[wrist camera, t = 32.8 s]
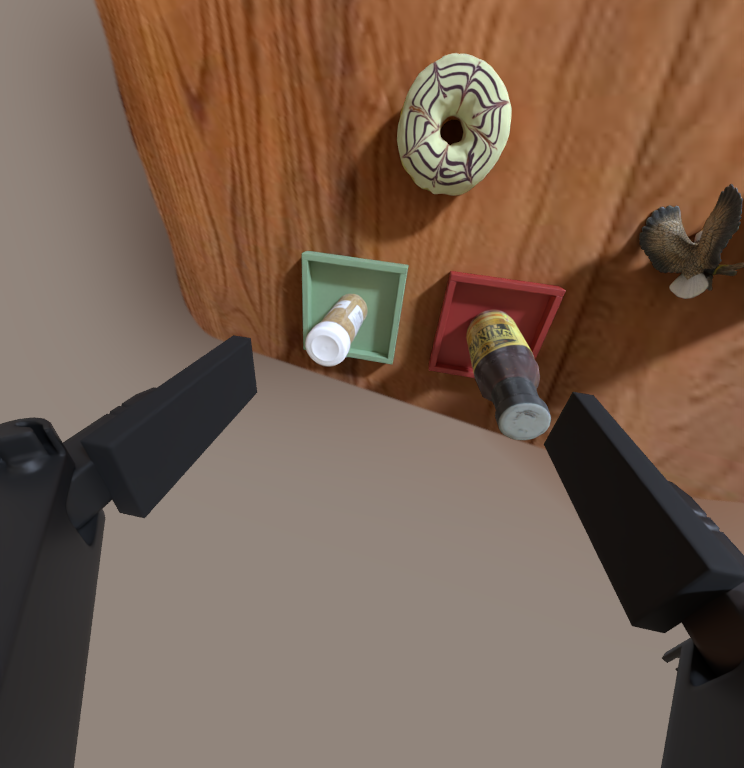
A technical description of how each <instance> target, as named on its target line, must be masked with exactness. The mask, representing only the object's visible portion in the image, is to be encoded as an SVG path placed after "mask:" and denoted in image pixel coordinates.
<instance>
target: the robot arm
mask: <svg viewBox="0 0 744 768" xmlns="http://www.w3.org/2000/svg"><path fill="white" fill-rule="evenodd" d="M256 393H257V387H256V379H255V370H254V362H253V354H252V345H251V338H246V337H240V336H234V335H233V336H232V337H230V338H229V339H228V340H226V341H225V342H223V343H222V344H220V345H219V346H217V347H216V348H215V349H213V350H211V351H210V352H209V353H207V354H206V355H204V356H203V357H201V358H200V359H198V360H197V361H195V362H194V363H193V364H191V365H190V366H188V367H187V368H185V369H184V370H182V371H181V372H179V373H178V374H176V375H175V376H174V377H172V378H171V379H169V380H168V381H166V382H165V383H163V384H162V385H161V386H159V387H158V388H151V389H149V390H146V391H144V392H141V393H139V394H136V395H135V396H133V397H132V398H130V399H128V400H127V401H125V402H124V403H122V406H118V407H116V408H115V409H113V410H112V411H110V414H106V415H104V416H103V417H101V418H100V419H98V420H97V421H95V422H94V423H92V424H91V425H89V426H87V427H86V428H84V429H83V430H81V431H80V432H78V433H77V434H75V435H74V436H72V437H71V438H69V439H68V440H66V441H65V442H63V443H62V441H61V439H60V438H59V436H58V434H57V433H56V431H55V429H54V428H53V426H52V424H51V423H50V422H49V421H47V420H45V419H42V418H25V419H18V420H14V421H9V422H6V423H2V424H0V768H74V761H75V753H76V745H77V737H78V729H79V721H80V714H81V706H82V698H83V690H84V681H85V674H86V666H87V658H88V650H89V642H90V634H91V626H92V619H93V610H94V602H95V595H96V587H97V586H96V585H97V579H98V571H99V562H100V555H101V547H102V539H103V531H104V523H105V515H104V511H103V510H102V509H103V507H105V506H106V505H107V504H108V503H109V502H110V501H111V500H113V502H114V503H115V505H116V507H117V509H118V511H119V512H120V513H123V514H128V515H133V516H137V517H142V518H145V517H146V516H147V515H148V514H149V513H150V512H151V510H152V509H153V508H154V507H155V506H156V505H157V504H158V503H159V502H160V500H161V499H162V498H163V497H164V496H165V495H166V494H167V493H168V491H169V490H170V489H171V488H172V487H173V486H174V485H175V484H176V483H177V481H178V480H179V479H180V478H181V477H182V476H183V475H184V474H185V472H186V471H187V470H188V469H189V468H190V467H191V466H192V465H193V464H194V462H195V461H196V460H197V459H198V458H199V457H200V456H201V455H202V453H203V452H204V451H205V450H206V449H207V448H208V447H209V446H210V445H211V443H212V442H213V441H214V440H215V439H216V438H217V437H218V436H219V434H220V433H221V432H222V431H223V430H224V429H225V428H226V427H227V425H228V424H229V423H230V422H231V421H232V420H233V419H234V418H235V417H236V416H237V414H238V413H239V412H240V411H241V410H242V409H243V408H244V406H245V405H246V404H247V403H248V402H249V401H250V400H251V399H252V398H253V396H254V395H255V394H256ZM544 446H545V448H546V450H547V452H548V454H549V456H550V458H551V460H552V462H553V464H554V466H555V468H556V470H557V472H558V474H559V477H560V478H561V481H562V483H563V485H564V487H565V489H566V491H567V493H568V495H569V497H570V499H571V501H572V503H573V505H574V507H575V509H576V511H577V513H578V516H579V518H580V520H581V522H582V524H583V526H584V528H585V530H586V532H587V534H588V536H589V538H590V540H591V542H592V545H593V547H594V549H595V551H596V553H597V555H598V557H599V559H600V561H601V563H602V565H603V567H604V569H605V571H606V573H607V575H608V577H609V579H610V582H611V584H612V586H613V588H614V590H615V592H616V594H617V596H618V598H619V600H620V602H621V604H622V606H623V608H624V610H625V612H626V615H627V617H628V619H629V621H630V623H631V625H632V626H635V627H639V628H643V629H648V630H652V631H657V632H662V633H666V632H667V631H669V630H670V629H672V628H673V627H675V626H677V625H678V624H680V623H681V622H682V624H683V625H684V627H685V629H686V630H687V632H688V634H689V635H690V637H691V638H689V639H688V640H686V641H684V642H682V643H681V644H679V645H677V646H676V647H674V648H672V649H671V650H669V651H667V652H666V653H665V654H664V656H663V657H662V659H663V660H664V661H666V662H667V663H668V662H670V661H672V660H673V659H675V658H680V659H679V665H678V668H676V670H677V677H676V684H675V689H674V695H673V701H672V707H671V713H670V718H669V724H668V730H667V737H666V742H665V748H664V754H663V759H662V765H661V768H744V555H743V554H742V553H741V552H740V551H739V550H738V548H737V547H736V546H735V545H734V544H733V543H732V542H731V541H730V540H729V539H728V537H727V536H726V535H725V534H724V533H723V532H720V531H719V527H718V526H717V525H716V524H715V523H714V522H713V521H712V520H711V518H709V517H707V516H706V513H705V512H704V511H703V510H702V509H701V508H700V506H699V505H698V504H697V503H696V502H695V501H694V500H693V498H692V497H690V496H689V495H688V494H687V493H685V492H684V491H683V490H681V489H680V488H679V487H678V486H676V485H675V484H674V483H672V482H670V481H667V480H666V479H665V477H664V476H663V475H662V474H661V473H660V472H659V470H658V469H657V468H656V467H655V466H654V465H653V464H652V462H651V461H650V460H649V459H648V458H647V457H646V455H645V454H644V453H643V452H642V451H641V450H640V449H639V447H638V446H637V445H636V444H635V443H634V442H633V440H632V439H631V438H630V437H629V436H628V435H627V434H626V432H625V431H624V430H623V429H622V428H621V427H620V425H619V424H618V423H617V422H616V421H615V420H614V419H613V417H612V416H611V415H610V414H609V413H608V412H607V410H606V409H605V408H604V407H603V406H602V405H601V404H600V402H599V401H598V400H597V399H596V398H595V397H594V395H589V394H583V393H577V392H572V394H571V396H570V398H569V400H568V401H567V403H566V405H565V407H564V409H563V410H562V412H561V414H560V416H559V418H558V419H557V421H556V423H555V425H554V427H553V429H552V430H551V432H550V434H549V436H548V438H547V439H546V441H545V443H544Z"/></svg>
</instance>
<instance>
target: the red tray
mask: <svg viewBox="0 0 744 768" xmlns="http://www.w3.org/2000/svg"><path fill="white" fill-rule="evenodd" d="M565 291H566V290H564V289H563V288H561V287H560V286H554V285H547V284H539V283H532V282H525V281H518V280H511V279H504V278H497V277H490V276H483V275H475V274H468V273H461V272H454V271H450V274H449V279H448V283H447V287H446V292H445V296H444V300H443V304H442V309H441V313H440V317H439V322H438V326H437V330H436V335H435V339H434V343H433V347H432V352H431V356H430V360H429V370H430V371H436V372H442V373H448V374H454V375H460V376H466V377H472V378H475V377H474V373H473V368H472V363H471V358H470V353H469V348H468V344H467V338H466V337H467V329H468V327H469V324H470V323H471V321H472V320H473V318H474V317H475V316H476V315H478V314H479V313H481V312H484V311H488V310H500V311H502V312H505V313H506V314H508V315H509V316H510V317H511V318H512V319H513V321H514V322H515V324H516V326H517V327H518V329H519V331H520V332H521V334H522V336H523V337H524V339H525V341H526V342H527V344H528V346H529V348H530V350H531V351H532V353H533V355H534V359H536V357H537V355H538V353H539V350H540V348H541V346H542V344H543V341H544V339H545V337H546V335H547V332H548V330H549V328H550V326H551V323H552V321H553V319H554V317H555V314H556V312H557V310H558V308H559V305H560V303H561V301H562V298H563V296H564V294H565Z"/></svg>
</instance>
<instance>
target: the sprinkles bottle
mask: <svg viewBox="0 0 744 768" xmlns="http://www.w3.org/2000/svg"><path fill="white" fill-rule="evenodd" d="M367 311H368V310H367V305H366V303H365V301H364V300H363V299H362V298H361V297H360V296H359V295H356V294H346V295H344V296H342V297H341V298H340V299H339V300H338V302H337V304H335V305H334V307H333V308H332V309H331V310H330V311H329V313H328V314H327V315H326V316H325V317H324V318H323V320H322V321H321V322H320V323H318V324H317V325H315V326H314V327H313V328H312V330H311V331H310V332H309V333H308V335H307V337H306V341H305V347H306V350H307V353H308V355H309V356H310V357H311V358H312V360H314V361H315V362H316V363H318V364H320V365H323V366H335V365H338V364H339V363H341V362H342V361H343V360H344V358H345V357H346V355H347V354H348V352H349V349H350V344H351V343H352V342H353V340H354V338H355V336H356V335H357V333H358V331H359V329H360V327H361V325H362V322H363V321H364V320H365V318H366V316H367Z"/></svg>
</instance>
